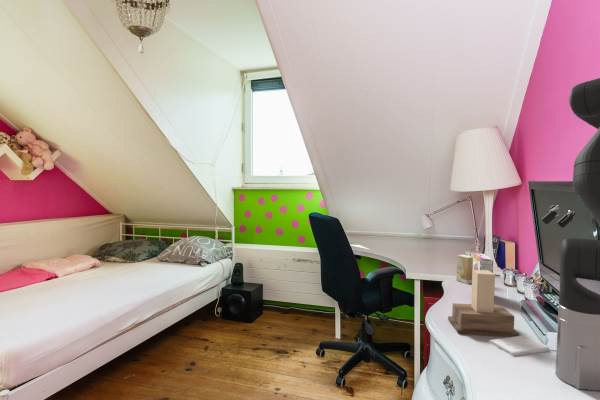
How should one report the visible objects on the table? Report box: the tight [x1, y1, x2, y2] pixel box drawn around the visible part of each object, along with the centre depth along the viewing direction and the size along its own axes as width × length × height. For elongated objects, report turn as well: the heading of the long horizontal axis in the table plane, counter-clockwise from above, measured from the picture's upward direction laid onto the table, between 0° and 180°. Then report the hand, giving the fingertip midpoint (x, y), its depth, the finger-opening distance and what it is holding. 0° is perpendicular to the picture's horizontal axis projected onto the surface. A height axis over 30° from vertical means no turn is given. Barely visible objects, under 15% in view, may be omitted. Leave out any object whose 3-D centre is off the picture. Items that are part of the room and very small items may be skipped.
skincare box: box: [455, 254, 473, 285], centre depth 166 cm, size 6×4×12 cm
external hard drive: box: [488, 334, 550, 357], centre depth 101 cm, size 2×8×12 cm
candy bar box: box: [472, 253, 494, 274], centre depth 145 cm, size 11×5×16 cm, turn 168°
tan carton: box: [470, 270, 496, 313], centre depth 112 cm, size 5×5×12 cm
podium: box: [447, 302, 520, 338], centre depth 113 cm, size 11×17×6 cm, turn 82°
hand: (551, 223), depth 111 cm, fingers open, 8 cm apart
